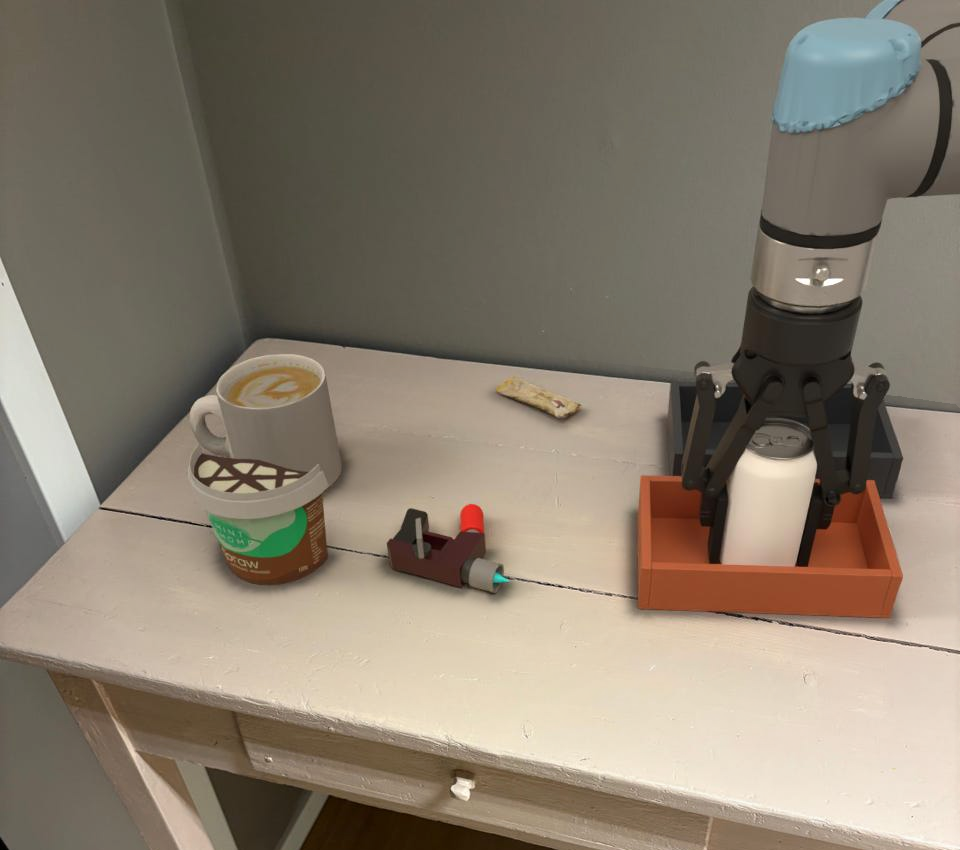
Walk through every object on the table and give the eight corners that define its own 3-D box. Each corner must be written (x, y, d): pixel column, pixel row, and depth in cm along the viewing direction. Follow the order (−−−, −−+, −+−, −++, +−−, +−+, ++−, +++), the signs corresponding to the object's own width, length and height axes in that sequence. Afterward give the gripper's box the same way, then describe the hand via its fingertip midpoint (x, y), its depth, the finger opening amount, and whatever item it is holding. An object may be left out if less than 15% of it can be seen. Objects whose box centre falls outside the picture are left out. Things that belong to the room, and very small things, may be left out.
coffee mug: (356, 449, 99) (341, 358, 92) (318, 508, 92) (299, 414, 85) (235, 436, 102) (212, 346, 95) (190, 491, 95) (161, 399, 88)
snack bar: (493, 389, 105) (511, 370, 106) (497, 399, 106) (515, 380, 107) (563, 418, 100) (581, 398, 100) (566, 428, 101) (584, 408, 102)
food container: (184, 578, 86) (152, 483, 79) (221, 536, 90) (193, 442, 83) (311, 606, 82) (288, 509, 76) (343, 561, 87) (324, 464, 80)
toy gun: (502, 605, 81) (500, 559, 78) (374, 571, 85) (367, 526, 82) (546, 536, 88) (546, 491, 84) (425, 508, 92) (420, 463, 88)
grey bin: (868, 422, 98) (878, 383, 95) (891, 498, 89) (903, 457, 86) (667, 419, 100) (670, 381, 97) (670, 493, 91) (674, 453, 88)
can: (715, 534, 86) (732, 413, 78) (792, 537, 85) (818, 415, 77) (717, 583, 82) (736, 460, 73) (799, 587, 81) (827, 463, 72)
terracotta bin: (863, 520, 87) (874, 479, 84) (890, 618, 78) (903, 576, 75) (637, 514, 89) (640, 474, 86) (638, 608, 80) (641, 568, 77)
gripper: (661, 314, 65) (639, 580, 81) (970, 316, 63) (885, 588, 79) (659, 266, 71) (639, 524, 87) (944, 265, 69) (869, 530, 85)
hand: (756, 554), depth 83 cm, fingers closed on can, 6 cm apart
